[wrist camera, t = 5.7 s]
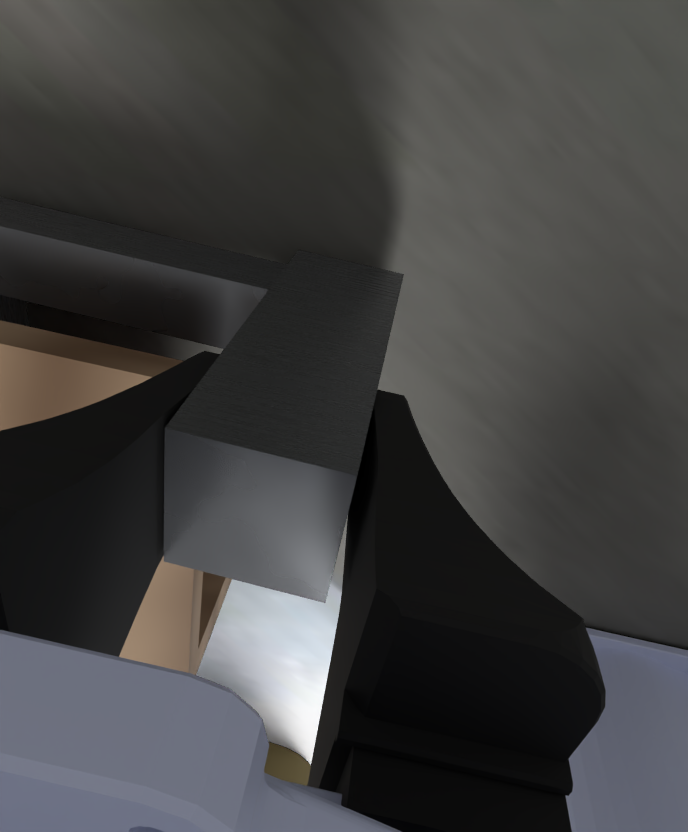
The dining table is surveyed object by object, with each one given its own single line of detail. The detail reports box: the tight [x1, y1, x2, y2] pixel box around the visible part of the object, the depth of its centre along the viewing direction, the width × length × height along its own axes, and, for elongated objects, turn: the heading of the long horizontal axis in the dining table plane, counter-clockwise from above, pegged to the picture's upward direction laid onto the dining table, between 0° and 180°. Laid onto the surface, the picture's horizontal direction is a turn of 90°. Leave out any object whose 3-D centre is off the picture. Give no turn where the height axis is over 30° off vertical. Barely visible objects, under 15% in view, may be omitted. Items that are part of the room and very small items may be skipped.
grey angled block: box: [0, 197, 404, 603], centre depth 15 cm, size 14×8×9 cm, turn 80°
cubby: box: [0, 320, 232, 675], centre depth 20 cm, size 9×13×6 cm
